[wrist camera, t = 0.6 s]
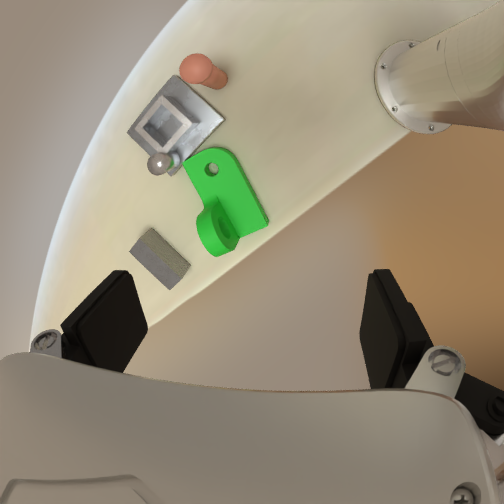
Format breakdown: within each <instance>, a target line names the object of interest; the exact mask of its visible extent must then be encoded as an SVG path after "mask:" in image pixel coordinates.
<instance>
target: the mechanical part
mask: <svg viewBox="0 0 504 504" xmlns="http://www.w3.org/2000/svg"><path fill="white" fill-rule="evenodd" d="M210 163H215V164H216V165H217V166H218V169H219V171H218V174H212V173H211V172H210V171H209V168H208V166H209V164H210ZM182 165H183V166H184V168H185V170H186V172H187V174H188V175H189V177H190V179H191V181H192V183H193V185H194V186H195V188H196V190H197V192H198V194H199V195H200V197H201V199H202V201H203V204H204V210H203V211H202V212H201V213H200V214H199V215H198V217H197V220H196V225H197V231H198V234H199V237H200V239H201V241H202V243H203V245H204V247H205V248H206V249H207V251H208V252H209V253H210V254H212V255H213V256H215V257H218V256H221V255H223V254H226V253H228V252H230V251H233V250H234V249H235V247H236V245H237V243H238V241H239V239H240V238H241V237H243V236H246V235H248V234H250V233H253V232H255V231H257V230H260V229H262V228H264V227H267V226H268V223H269V220H268V218H267V217H266V215H265V213H264V211H263V209H262V207H261V205H260V203H259V201H258V199H257V197H256V195H255V193H254V191H253V189H252V187H251V185H250V183H249V181H248V179H247V178H246V176H245V174H244V172H243V170H242V168H241V166H240V164H239V162H238V160H237V159H236V157H235V156H234V155H233V154H232V153H231V152H230V151H228V150H227V149H224V148H220V147H213V148H209V149H206V150H203V151H201V152H200V153H198V154H196V155H194V156H192V157H191V158H189V159H187V160H186V161H184V162H182Z"/></svg>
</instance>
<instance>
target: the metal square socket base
mask: <svg viewBox="0 0 504 504" xmlns="http://www.w3.org/2000/svg"><path fill="white" fill-rule="evenodd" d="M224 121H225V119H224V118H223V117H222V116H221V115H220V114H219V113H218V112H217V111H216V110H215V109H214V108H213V107H212V106H210V105H209V104H208V103H207V102H206V101H205V100H204V99H203V98H202V97H201V96H199V95H198V94H197V93H196V92H195V91H194V90H193V89H192V88H191V87H189V86H188V85H187V84H186V83H185V82H184V81H183V80H181V79H180V78H179V77H178V76H176V75H173V76H172V77H171V78H170V79H169V80H168V82H167V83H166V84H165V85H164V86H163V87H162V88H161V90H160V91H159V92H158V93H157V94H156V96H155V97H154V98H153V99H152V100H151V102H150V103H149V104H148V105H147V107H146V108H145V109H144V110H143V112H142V113H141V114H140V115H139V117H138V118H137V119H136V121H135V122H134V123H133V125H132V126H131V127H130V129H129V130H128V131H127V133H128V134H129V135H130V136H131V137H132V138H133V139H134V140H135V141H136V142H137V143H138V144H139V145H140V146H141V147H142V148H143V149H144V150H145V151H146V152H147V153H148V154H149V155H150V158H149V159H148V163H147V166H148V169H149V171H150V172H151V173H152V174H154V175H162V174H164V173H166V172H167V173H168V174H169V175H170V176H172V175H174V174H175V173H176V172H177V171H178V170H179V169H180V168H181V166H182V162H184V161H186V160H187V159H189V157H190V156H191V155H192V154H193V153H194V152H195V151H196V150H197V149H198V148H199V147H200V145H201V144H202V143H203V142H204V141H205V140H206V139H207V138H208V137H209V136H210V135H211V134H212V133H213V132H214V131H215V130H216V129H217V128H218V127H219V126H220V125H221V124H222V123H223V122H224Z"/></svg>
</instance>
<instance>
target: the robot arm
mask: <svg viewBox="0 0 504 504" xmlns="http://www.w3.org/2000/svg"><path fill="white" fill-rule="evenodd" d="M409 46H410V47H411V48H410V47H409ZM381 66H383V67H384V69H382V68H381ZM375 85H376V90H377V93H378V96H379V99H380V101H381V102H382V104H383V106H384V108H385V109H386V111H387V112H388V113H389V115H390V116H391V117H392V118H393V119H394V120H395V121H396V122H398V123H399V124H400V125H402V126H403V127H405V128H407V129H409V130H411V131H414V132H418V133H424V134H435V133H439V132H442V131H444V130H446V129H447V128H449V127H450V126H451V125H452V124H457V125H466V126H474V127H482V128H489V129H496V130H503V131H504V0H500V1H499V2H498V3H496V4H495V5H493V6H492V7H490V8H488V9H486V10H485V11H483V12H481V13H479V14H477V15H475V16H473V17H471V18H469V19H467V20H465V21H463V22H461V23H459V24H457V25H455V26H453V27H451V28H449V29H447V30H445V31H443V32H441V33H439V34H437V35H435V36H433V37H431V38H429V39H427V40H426V41H424V42H419V41H414V40H404V41H400V42H396V43H394V44H393V45H391V46H389V47H388V48H387V49H385V50H384V52H383V53H382V54H381V55H380V57H379V59H378V61H377V64H376V68H375ZM392 107H393V108H394V111H392V110H391V108H392ZM428 127H430V129H429V128H428ZM60 326H61V328H62V330H63V332H64V333H63V334H62V335H61V333H60V332H59V331H58V330H55V329H50V330H46V331H44V332H41V333H40V334H38V335H37V336H36V337H35V338H34V339H33V341H32V343H31V349H30V352H23V353H15V354H11V355H8V356H6V357H4V358H3V359H2V360H0V504H504V391H502V390H500V389H498V388H496V387H494V386H492V385H490V384H487V383H485V382H483V381H481V380H479V379H477V378H475V377H473V376H471V375H469V374H466V373H465V372H464V371H465V366H466V364H465V360H464V358H463V357H462V355H461V354H460V353H459V352H458V351H456V350H455V349H453V348H451V347H447V346H435V347H434V345H433V343H432V341H431V339H430V337H429V335H428V333H427V331H426V329H425V327H424V325H423V323H422V322H421V320H420V318H419V316H418V314H417V312H416V310H415V308H414V307H413V305H412V303H410V302H407V300H406V298H405V296H404V294H403V292H402V291H401V289H400V287H399V285H398V283H397V282H396V280H395V278H394V276H393V275H392V273H391V271H390V270H389V269H377V270H374V272H373V273H371V274H369V276H368V282H367V289H366V296H365V303H364V309H363V315H362V321H361V327H360V342H361V346H362V350H363V355H364V359H365V364H366V368H367V372H368V377H369V382H370V387H371V389H363V390H336V391H272V390H249V389H236V388H235V389H234V388H223V387H212V386H203V385H194V384H186V383H179V382H172V381H165V380H158V379H153V378H147V377H141V376H135V375H130V374H125V373H123V372H124V370H125V368H126V367H127V365H128V363H129V362H130V360H131V358H132V356H133V355H134V353H135V352H136V350H137V348H138V346H139V345H140V343H141V342H142V340H143V339H144V337H145V335H146V334H147V331H148V326H147V322H146V319H145V316H144V313H143V310H142V307H141V304H140V300H139V297H138V294H137V290H136V287H135V284H134V280H133V277H132V275H131V274H129V272H128V271H126V270H114V271H113V272H112V273H111V274H110V275H109V276H108V277H107V278H105V279H104V280H103V281H102V282H101V283H100V284H99V285H98V286H97V287H96V288H95V289H94V290H93V291H92V292H91V293H90V294H89V295H88V296H87V297H86V298H85V299H84V300H83V302H82V303H81V304H80V305H79V306H78V307H77V308H76V309H75V310H74V311H73V312H72V313H71V314H70V315H69V316H68V317H67V318H66V319H65V320H64V321H63V323H62V324H61V325H60Z"/></svg>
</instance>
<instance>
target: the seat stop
mask: <svg viewBox="0 0 504 504" xmlns="http://www.w3.org/2000/svg"><path fill="white" fill-rule="evenodd" d="M129 252H130V253H131V254H132V255H133V256H134V257H135V258H136V259H137V260H138V261H139V262H140V263H141V264H142V265H143V266H144V267H145V268H146V269H147V270H148V271H149V272H151V273H152V274H153V275H154V276H155V277H156V278H157V279H158V280H159V281H160V282H161V283H162V284H163V285H164V286H166V287H167V288H168V289H169V290H171V289H172V288H173V287H174V286H175V285H176V284H177V283H178V282H179V281H180V280H181V279H182V278H183V276H184V275H185V273H186V272H187V270H188V269H189V267H190V266H191V265H190V264H189V263H188V262H187V261H186V260H185V259H184V258H183V257H182V256H181V255H180V254H179V253H177V252H176V251H175V250H174V249H173V248H172V247H171V246H170V245H169V244H168V243H167V242H166V241H165V240H164V239H163V238H162V237H161V236H160V235H159V234H158V233H157V232H156V231H155V230H154V229H153V228H151V229H150V230H149V231H148V232H146V233H145V234H144V235H143V236H142V237H141V238H139V240H138V241H137V242H136V243H135V245H134V246H133V247H132V248H131V250H130V251H129Z"/></svg>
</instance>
